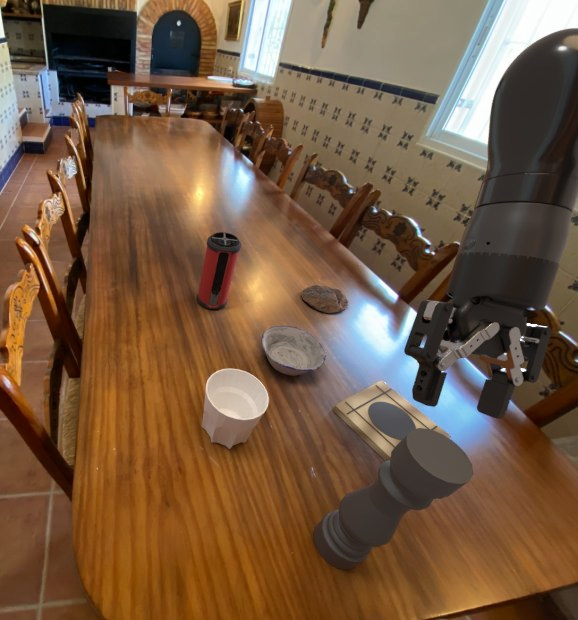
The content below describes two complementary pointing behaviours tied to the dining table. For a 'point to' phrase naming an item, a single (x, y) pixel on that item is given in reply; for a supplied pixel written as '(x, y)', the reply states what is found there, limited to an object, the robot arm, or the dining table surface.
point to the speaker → (218, 270)
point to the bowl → (292, 350)
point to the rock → (325, 298)
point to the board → (382, 417)
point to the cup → (233, 406)
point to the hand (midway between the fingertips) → (457, 409)
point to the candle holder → (392, 497)
